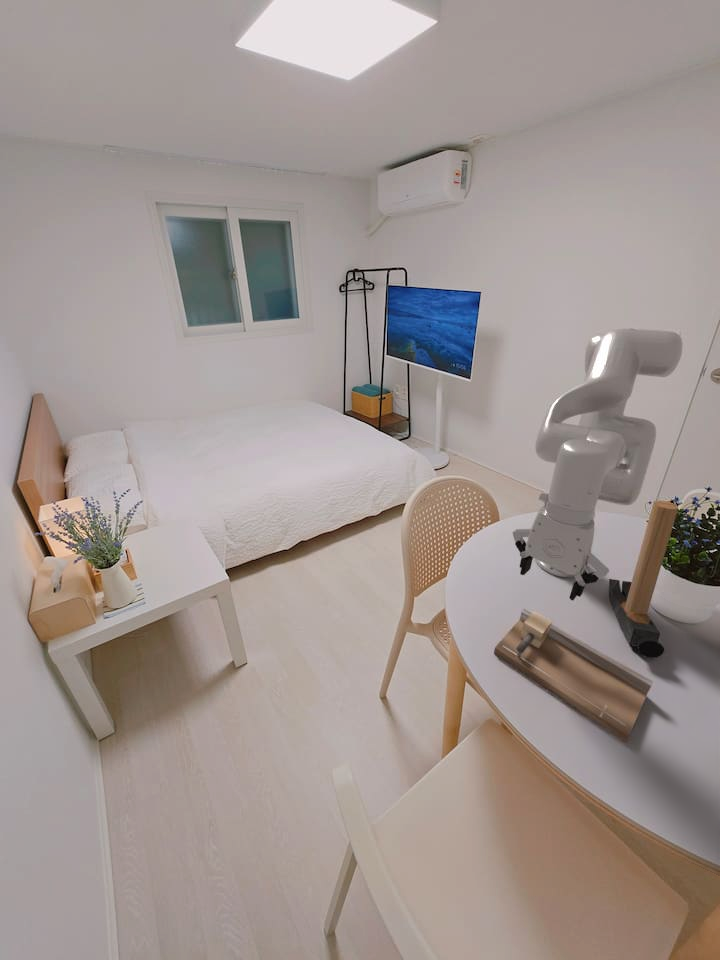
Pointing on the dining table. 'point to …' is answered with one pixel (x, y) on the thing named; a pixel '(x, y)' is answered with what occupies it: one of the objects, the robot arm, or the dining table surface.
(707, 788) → the dining table surface
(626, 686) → the board
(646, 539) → the hammer
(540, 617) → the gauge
